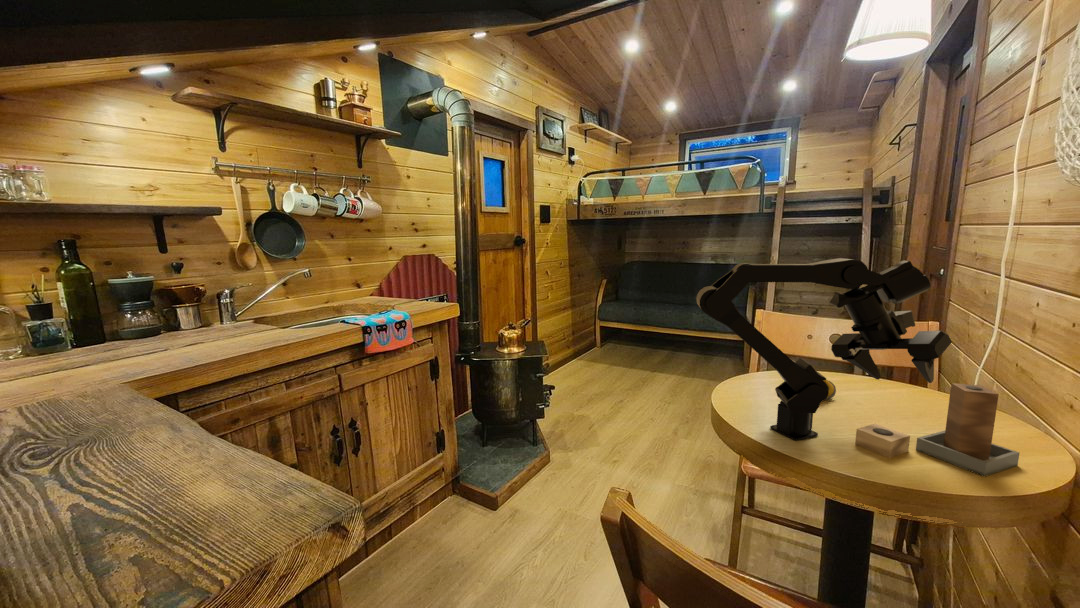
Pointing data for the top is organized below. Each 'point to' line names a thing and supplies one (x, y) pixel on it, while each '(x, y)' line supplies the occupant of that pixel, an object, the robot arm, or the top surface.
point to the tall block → (971, 420)
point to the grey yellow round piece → (830, 389)
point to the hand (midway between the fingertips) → (903, 379)
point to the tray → (996, 462)
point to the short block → (882, 440)
